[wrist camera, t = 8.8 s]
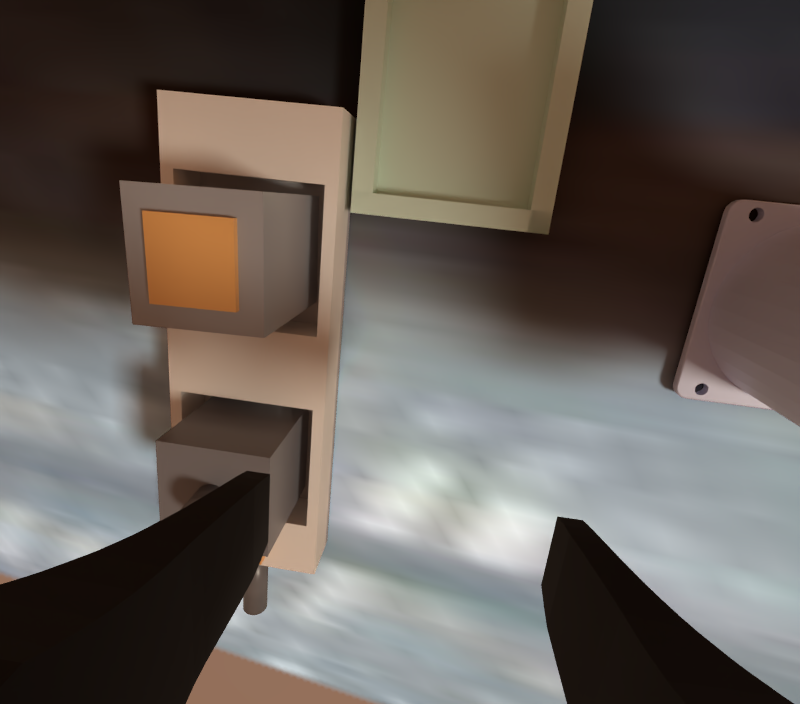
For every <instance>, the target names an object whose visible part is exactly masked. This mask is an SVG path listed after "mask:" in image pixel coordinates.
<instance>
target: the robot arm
mask: <svg viewBox="0 0 800 704" xmlns="http://www.w3.org/2000/svg"><path fill="white" fill-rule="evenodd" d="M754 208H755V209H756V210H757V211H758V216H757V217H756V219H755V220H753V221H750V219H749V213H750V212H751V210H753V209H754ZM701 383H704V387H703V388H702V390H700V391H698V392H695V387H696V386H697V385H698V384H701ZM673 389H674V391H675V392H676V393H677V394H678V395H679V396H680V397H683V398H687V399H694V400H702V401H709V402H717V403H724V404H732V405H739V406H747V407H754V408H762V409H769V410H774V411H776V412H777V413H779V414H781V415H782V416H784V417H785V418H787V419H788V420H790V421H792V422H793V423H795V424H796V425H798V426H799V427H800V205H794V204H785V203H775V202H765V201H756V200H735V201H733V202H731V203H730V204H729V205H727V206H726V208H725V210H724V212H723V215H722V219H721V222H720V226H719V229H718V232H717V236H716V239H715V243H714V246H713V249H712V253H711V256H710V260H709V263H708V266H707V270H706V273H705V277H704V280H703V283H702V287H701V290H700V294H699V297H698V300H697V304H696V307H695V311H694V314H693V317H692V321H691V324H690V328H689V331H688V334H687V338H686V341H685V345H684V348H683V351H682V355H681V358H680V362H679V365H678V368H677V372H676V375H675V378H674V382H673ZM269 498H270V474H266V473H259V472H253V471H245V472H244V473H242V474H240V475H238V476H236V477H235V478H233V479H231V480H230V481H228V482H226V483H225V484H223V485H222V486H220V487H218V488H217V489H215V490H213V491H212V492H210V493H208V494H207V495H205V496H203V497H202V498H200V499H198V500H197V501H195V502H193V503H192V504H190V505H188V506H187V507H185V508H183V509H181V510H179V511H178V512H176V513H174V514H172V515H170V516H168V517H166V518H165V519H163V520H161V521H159V522H157V523H155V524H153V525H152V526H150V527H148V528H146V529H144V530H142V531H140V532H138V533H136V534H134V535H132V536H130V537H127V538H125V539H123V540H121V541H119V542H116V543H114V544H112V545H110V546H107V547H105V548H103V549H100V550H98V551H96V552H93V553H91V554H88V555H85V556H83V557H80V558H77V559H75V560H72V561H69V562H66V563H64V564H61V565H58V566H56V567H53V568H50V569H48V570H45V571H42V572H39V573H36V574H33V575H30V576H27V577H23V578H20V579H17V580H14V581H11V582H7V583H4V584H0V704H186V702H187V699H188V697H189V695H190V693H191V690H192V688H193V686H194V684H195V682H196V680H197V678H198V676H199V674H200V672H201V671H202V669H203V667H204V665H205V663H206V661H207V659H208V658H209V656H210V654H211V652H212V651H213V649H214V647H215V645H216V644H217V642H218V640H219V638H220V637H221V635H222V633H223V631H224V630H225V628H226V626H227V624H228V623H229V621H230V619H231V617H232V616H233V614H234V612H235V610H236V609H237V607H238V605H239V603H240V601H241V600H242V598H243V596H244V594H245V592H246V591H247V589H248V587H249V585H250V583H251V582H252V580H253V578H254V575H255V573H256V571H257V568H258V566H259V564H260V561H261V559H262V556H263V554H264V551H265V549H266V546H267V544H268V534H269ZM541 586H542V594H543V602H544V609H545V616H546V623H547V628H548V632H549V636H550V640H551V644H552V648H553V652H554V656H555V660H556V664H557V667H558V671H559V675H560V678H561V682H562V686H563V690H564V693H565V697H566V701H567V704H794V703H792V702H791V701H789V700H788V699H786V698H785V697H783V696H782V695H780V694H779V693H778V692H776V691H775V690H773V689H772V688H771V687H769V686H768V685H766V684H765V683H764V682H762V681H761V680H759V679H758V678H756V677H755V676H754V675H752V674H751V673H749V672H748V671H747V670H745V669H744V668H743V667H741V666H740V665H739V664H737V663H736V662H735V661H733V660H732V659H731V658H730V657H728V656H727V655H726V654H724V653H723V652H722V651H721V650H719V649H718V648H717V647H716V646H715V645H713V644H712V643H711V642H710V641H708V640H707V639H706V638H705V637H703V636H702V635H701V634H700V633H698V632H697V631H696V630H695V629H694V628H693V627H691V626H690V625H689V624H688V623H687V622H686V621H684V620H683V619H682V618H681V617H680V616H679V615H678V614H677V613H676V612H674V611H673V610H672V609H671V608H670V607H669V606H668V605H667V604H666V603H665V602H664V601H662V600H661V599H660V598H659V597H658V596H657V595H656V594H655V593H654V592H653V591H652V590H651V589H650V588H649V587H648V586H647V585H646V584H645V583H644V582H643V581H642V580H641V579H640V578H639V577H638V576H637V575H636V574H635V573H634V572H633V571H632V570H631V569H630V568H629V567H628V566H627V565H626V564H625V563H624V562H623V561H622V560H621V559H620V558H619V557H618V556H617V555H616V554H615V553H614V552H613V551H612V550H611V549H610V548H609V546H608V545H607V544H606V543H605V542H604V541H603V540H602V539H601V538H600V537H599V536H598V535H597V534H596V533H595V532H594V531H593V530H592V529H591V528H590V527H589V526H588V525H587V524H586V523H585V522H584V521H583V520H577V519H570V518H563V517H557V521H556V525H555V529H554V534H553V538H552V542H551V546H550V550H549V555H548V559H547V563H546V567H545V572H544V576H543V580H542V584H541Z"/></svg>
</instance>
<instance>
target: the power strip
mask: <svg viewBox="0 0 800 704" xmlns="http://www.w3.org/2000/svg"><path fill="white" fill-rule="evenodd" d="M157 105H158V128H159V151H160V174H161V184H174V185H186V186H199V187H212V188H225V189H237V190H250V191H262V192H275V193H288V194H300V195H313V196H319V220H318V261H317V302H316V303H315V304H313V305H312V306H310V307H309V308H307V309H306V310H304V311H303V312H301V313H300V314H299V315H297V316H296V317H294V318H293V319H291V320H290V321H288V322H287V323H286V324H284V325H283V326H281V327H280V328H278V329H277V330H275V331H274V332H272V333H271V334H270V335H268V336H267V337H265V338H259V337H249V336H240V335H230V334H221V333H211V332H202V331H192V330H183V329H173V328H167V337H168V360H169V383H170V406H171V428H173V427H174V426H175V425H177V424H178V423H179V422H180V421H182V420H183V419H184V418H185V417H187V416H188V415H189V414H191V413H192V412H193V411H194V410H196V409H197V408H198V407H200V406H201V405H202V404H203V403H205V402H206V401H207V400H209V399H210V398H211V397H212V396H216V397H223V398H230V399H237V400H244V401H251V402H258V403H265V404H272V405H279V406H286V407H293V408H300V409H307V410H309V423H308V443H307V462H306V482H305V488H304V490H303V492H302V493H301V495H300V497H299V499H298V501H297V503H296V505H295V507H294V508H293V510H292V512H291V514H290V516H289V518H288V520H287V521H286V523H285V525H284V527H283V529H282V531H281V533H280V535H279V536H278V538H277V540H276V542H275V544H274V546H273V548H272V549H271V551H270V553H269V555H268V557H265V556H262V559H261V561H260V564H259V566H258V568H257V571H256V573H255V575H254V578H253V580H252V582H251V583H250V585H249V587H248V589H247V591H246V592H245V594H244V596H243V609H244V611H245V612H246V613H247V614H249V615H257V614H260V613H262V612H263V611H264V610H265V609H266V607H267V587H268V567H274V568H280V569H286V570H292V571H298V572H304V573H310V574H315V571H316V569H317V566H318V563H319V561H320V558H321V556H322V553H323V550H324V548H325V545H326V543H327V537H328V523H329V508H330V494H331V480H332V465H333V451H334V437H335V423H336V408H337V394H338V380H339V365H340V351H341V337H342V323H343V308H344V294H345V280H346V265H347V251H348V237H349V222H350V208H351V194H352V180H353V165H354V151H355V137H356V122H357V119H356V118H355V117H353V116H352V115H351V114H350V113H349V112H348V111H347V110H346V109H344V108H343V107H334V106H323V105H313V104H302V103H292V102H281V101H271V100H260V99H250V98H239V97H229V96H218V95H208V94H197V93H187V92H176V91H166V90H157Z"/></svg>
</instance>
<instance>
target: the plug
mask: <svg viewBox="0 0 800 704" xmlns="http://www.w3.org/2000/svg"><path fill="white" fill-rule="evenodd" d="M119 183H120V193H121V204H122V215H123V226H124V237H125V247H126V258H127V269H128V280H129V291H130V301H131V312H132V323H133V324H135V325H145V326H154V327H164V328H173V329H183V330H192V331H202V332H211V333H221V334H230V335H240V336H249V337H259V338H265V337H267V336H268V335H270V334H271V333H272V332H274V331H275V330H277V329H278V328H280V327H281V326H283V325H284V324H286V323H287V322H288V321H290V320H291V319H293V318H294V317H296V316H297V315H299V314H300V313H301V312H303V311H304V310H306V309H307V308H309V307H310V306H312V305H313V304H315V303H316V302H317V261H318V220H319V196H313V195H300V194H288V193H275V192H262V191H250V190H237V189H225V188H212V187H199V186H186V185H174V184H161V183H148V182H135V181H123V180H119Z"/></svg>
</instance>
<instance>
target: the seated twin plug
mask: <svg viewBox="0 0 800 704" xmlns="http://www.w3.org/2000/svg"><path fill="white" fill-rule="evenodd" d="M308 423H309V410H307V409H300V408H293V407H286V406H279V405H272V404H265V403H258V402H251V401H244V400H237V399H230V398H223V397H216V396H212V397H211V398H210V399H209V400H207V401H206V402H205V403H203V404H202V405H201V406H200V407H198V408H197V409H196V410H194V411H193V412H192V413H191V414H189V415H188V416H187V417H185V418H184V419H183V420H182V421H180V422H179V423H178V424H177V425H175V426H174V427H173V428H171V429H170V430H169V431H168V432H166V433H165V434H164V435H162V436H161V437H160V438H159V439H157V440H156V455H157V473H158V491H159V510H160V521H161V520H163V519H165V518H166V517H168V516H170V515H172V514H174V513H176V512H178V511H179V510H181V509H183V508H185V507H187V506H188V505H190V504H192V503H193V502H195V501H197V500H198V499H200V498H202V497H203V496H205V495H207V494H208V493H210V492H212V491H213V490H215V489H217V488H218V487H220V486H222V485H223V484H225V483H226V482H228V481H230V480H231V479H233V478H235V477H236V476H238V475H240V474H242V473H244V472H245V471H253V472H259V473H266V474H270V498H269V534H268V544H267V546H266V549H265V551H264V554H263V556H265V557H268V555H269V553H270V551H271V549H272V548H273V546H274V544H275V542H276V540H277V538H278V536H279V535H280V533H281V531H282V529H283V527H284V525H285V523H286V521H287V520H288V518H289V516H290V514H291V512H292V510H293V508H294V507H295V505H296V503H297V501H298V499H299V497H300V495H301V493H302V492H303V490H304V488H305V482H306V462H307V443H308Z"/></svg>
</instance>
